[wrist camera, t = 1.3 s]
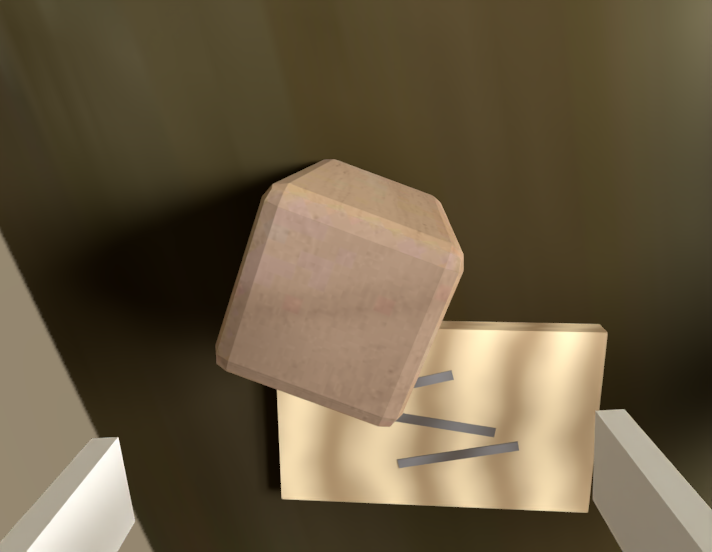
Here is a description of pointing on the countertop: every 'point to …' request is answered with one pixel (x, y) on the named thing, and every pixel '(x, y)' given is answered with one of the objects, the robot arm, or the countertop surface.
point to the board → (464, 426)
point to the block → (341, 290)
